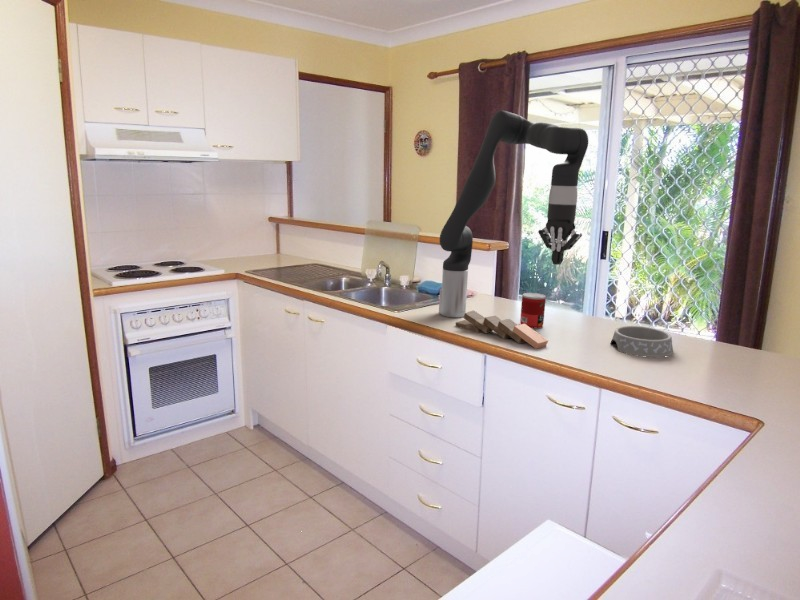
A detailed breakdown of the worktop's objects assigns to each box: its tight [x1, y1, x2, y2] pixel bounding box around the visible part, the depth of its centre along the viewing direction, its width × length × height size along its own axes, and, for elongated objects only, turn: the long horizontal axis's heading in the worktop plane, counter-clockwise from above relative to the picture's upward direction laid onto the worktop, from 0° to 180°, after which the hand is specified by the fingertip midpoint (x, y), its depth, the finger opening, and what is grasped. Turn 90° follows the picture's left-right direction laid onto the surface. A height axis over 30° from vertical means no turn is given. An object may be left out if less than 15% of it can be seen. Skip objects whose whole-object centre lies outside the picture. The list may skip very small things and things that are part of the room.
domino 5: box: [513, 323, 549, 350], centre depth 170 cm, size 2×5×10 cm
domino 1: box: [455, 319, 483, 334], centre depth 186 cm, size 2×5×10 cm
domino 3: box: [483, 315, 512, 340], centre depth 179 cm, size 2×5×10 cm
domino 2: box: [463, 310, 494, 334], centre depth 183 cm, size 2×5×10 cm
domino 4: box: [498, 318, 527, 344], centre depth 175 cm, size 2×5×10 cm
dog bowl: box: [610, 325, 674, 358], centre depth 169 cm, size 17×18×5 cm
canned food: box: [519, 292, 547, 329], centre depth 190 cm, size 8×8×11 cm
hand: (556, 264), depth 155 cm, fingers closed
